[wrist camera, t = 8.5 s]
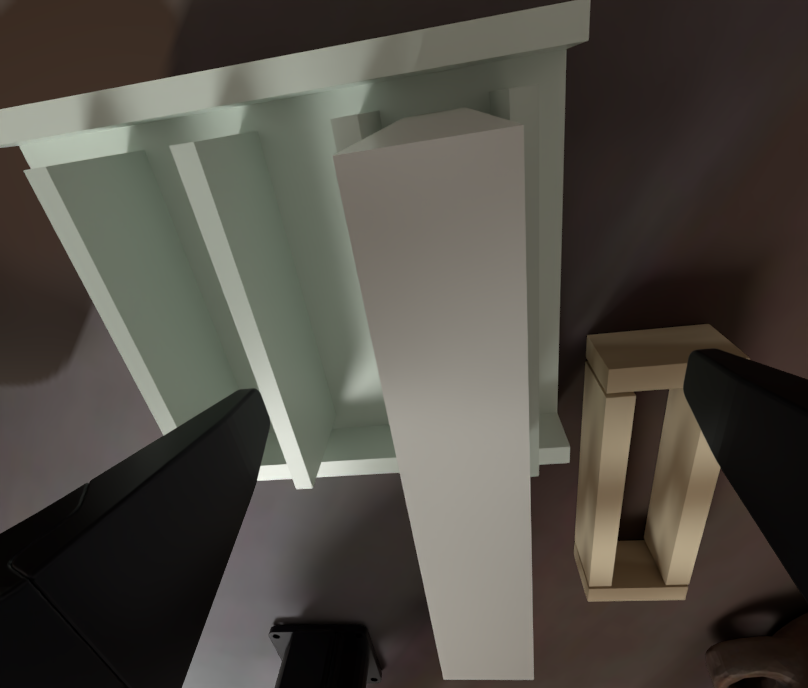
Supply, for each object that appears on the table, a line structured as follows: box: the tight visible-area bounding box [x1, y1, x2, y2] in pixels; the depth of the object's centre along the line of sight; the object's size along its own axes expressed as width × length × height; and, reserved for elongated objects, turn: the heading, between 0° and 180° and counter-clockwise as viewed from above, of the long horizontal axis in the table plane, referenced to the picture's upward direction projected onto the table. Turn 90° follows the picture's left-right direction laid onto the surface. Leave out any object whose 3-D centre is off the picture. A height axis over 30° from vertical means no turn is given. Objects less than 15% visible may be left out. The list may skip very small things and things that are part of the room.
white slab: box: [332, 107, 534, 680], centre depth 11 cm, size 10×2×10 cm, turn 9°
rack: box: [0, 0, 591, 489], centre depth 15 cm, size 14×17×5 cm
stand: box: [574, 324, 750, 601], centre depth 19 cm, size 13×4×2 cm, turn 9°
